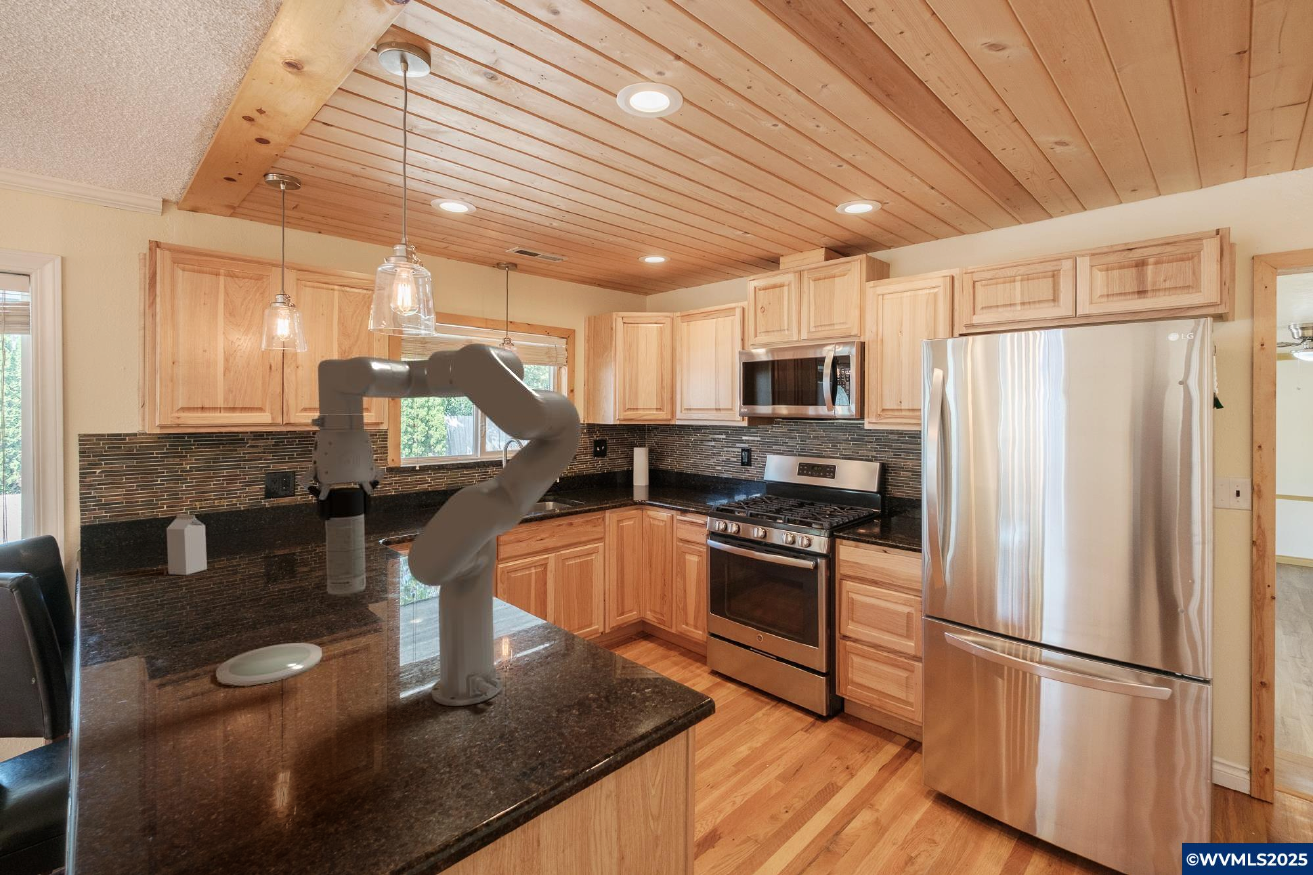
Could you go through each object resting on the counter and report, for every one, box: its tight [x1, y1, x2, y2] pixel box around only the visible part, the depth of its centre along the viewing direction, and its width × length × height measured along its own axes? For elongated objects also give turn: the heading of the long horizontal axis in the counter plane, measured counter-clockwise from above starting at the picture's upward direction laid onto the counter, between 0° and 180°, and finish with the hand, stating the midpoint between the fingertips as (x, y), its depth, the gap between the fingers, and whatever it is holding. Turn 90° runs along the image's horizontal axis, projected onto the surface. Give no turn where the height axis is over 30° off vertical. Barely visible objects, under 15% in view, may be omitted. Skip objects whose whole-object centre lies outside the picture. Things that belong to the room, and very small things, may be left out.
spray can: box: [324, 486, 367, 597], centre depth 113 cm, size 7×7×20 cm
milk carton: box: [166, 514, 208, 576], centre depth 192 cm, size 7×7×19 cm
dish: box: [215, 642, 323, 685], centre depth 119 cm, size 18×18×1 cm
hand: (344, 516), depth 113 cm, fingers closed on spray can, 6 cm apart
